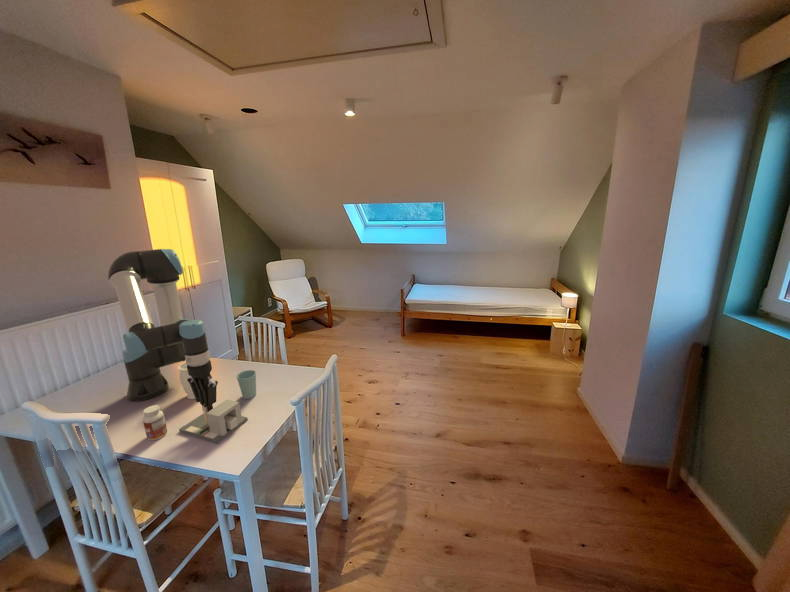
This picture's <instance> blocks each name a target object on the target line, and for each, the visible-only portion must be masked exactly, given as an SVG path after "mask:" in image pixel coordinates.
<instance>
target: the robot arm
mask: <svg viewBox="0 0 790 592" xmlns="http://www.w3.org/2000/svg"><path fill="white" fill-rule="evenodd" d="M183 273H184V270H183V266H182V264H181V261H180V257H179V256H178V254H177V253H176V251H175V250H173V249H172V248H157V249H147V250H138V251H137V250H136V251H128V252H125V253H123V254H120V255H119V256H118V257H116V259H115V260H113V262H112V263H111V265H110V267H109V270H108V274H107V277H108V281H109V284H110V285H111V287H112V288H114V289H115V292H116V295H117V299H118V302H119V305H120V308H121V312H122V316H123V319H124V323H125V325H126V328H127V329H126V330H127V333H124V334H123V335H122V339H123V343H124V346H125V348H124V350H123V351H122V353H121V355H122V359H123V360H122V362H123V364H124V366H125V371H126V375H127V379H128V384H127V385H128V387H127V391H126V395H127V399H128V400H129V401H132V402H141V401H147V400H149V399H150V400H151V399H153V398H156V397H157V396H160V395H162V394H164V393H165V392H167V390H168V389H169V382H168V380H167V379H166V378H165V376H164V374H163V373H162V372H161V368H163V367H167V366H171V365H175V364H178V363H181V362H186V364H187V370H188V374H189V375H190V376H191V377H190V378H188V379H187V381H188V382H189V384H190V386H191V388H192V391H193V394H194V396H195V399H194V400H195V401H196V403H199V404H200V405H201V407H202V411H203V413H204V417H205V421H207V420H206V415H205V413H207V412H209V411H210V410H212V409H213V408H214V406H213V404H215V403H217V386H218V384H219V381H218V380H213V379H212V378H213V377H212V375H211V371H212V370H213V367H212V362H211V355H210V350H209V346H208V341H207V334H206V327H205V325H204V324H205V323H204V321H202V320H201V319H188V318H183V314H182V309H181V303H180V297H179V291H178V286H177V283H178V282H179V280H180V276H181V275H183ZM142 280H146V281H147V283H148V284H149V285H151V286H152V290H153V293H154V299H155V305H156V308H157V314H158V318H159V322H160V326H157V327H156V326H155V323H154V321H153V319H152V314H151V312H150V310H149V306H148V303H147V301H146V298H145V296H144V293H143V290H142V287H141V285H140V284H141V281H142Z"/></svg>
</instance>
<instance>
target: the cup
mask: <svg viewBox="0 0 790 592" xmlns="http://www.w3.org/2000/svg"><path fill="white" fill-rule="evenodd" d="M236 381H237V382H238V383H237V384H238V385H239V390H240V392H241V396H242V398H243V399H245V400H249V399H252V398H254V397H255V396H256V395H257V373H256V371H255V370H252V369H249V370H244V371H241V372H239V373H237V375H236Z"/></svg>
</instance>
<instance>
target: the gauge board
mask: <svg viewBox="0 0 790 592" xmlns="http://www.w3.org/2000/svg"><path fill="white" fill-rule="evenodd" d="M206 414H207V419H208V424H209V429H208V430H206V431H205V432H203V433H202V434H199V432H201V431H202V430H204V429H205V428H207V427H208V425H207V421H205V417H204V412H203V413H201V414H200V415H199V416H197V417H196V418H194V419H193V420H191V421H189V422H188V423H186V424H185V425H183V426H182V427H180V428H178V432H179V433H181V434H185V435H189V436H191V437H195V438H198V439H201V440H205V441H207V442H210V443H214V444H216V445H217V444H218V443H220V442H221V441H222V440H224V439H225V438H226V437H228V436H229V435H231V434H232V433H233V432H235V430H237V429H238V428H239V427H241V426H242V425H243V424H245V423H246V422H247V421H248V419H249V418H248V417H247V416H243V415H242V411H241V406H240V402H239V401H236V400H231V399H226V400H224V401H222V402H221V403H220V404H218V405H216V406H215V407H213V409H212V410H210V411H209V412H207V413H206ZM225 415H228V416H232V417H235V418H237V422H238V425H237V426H236V427H235V428H233V429H232V430H230V429H227V428H226V424H225V419H224V416H225Z"/></svg>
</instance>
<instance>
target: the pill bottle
mask: <svg viewBox="0 0 790 592" xmlns="http://www.w3.org/2000/svg"><path fill="white" fill-rule="evenodd" d="M142 412H143V418H142V423H143V427H144V431H145V435H146V439H148V440H149V441H157V440H159V439H161V438H163V437H164V436H166V434H168V426H167V422H166V419H165V415H164V412H163V411H162V410H161V409H160V405H156V404H155V405H151V406H148V407H146V408H145V409H144V410H143V411H142Z"/></svg>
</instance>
